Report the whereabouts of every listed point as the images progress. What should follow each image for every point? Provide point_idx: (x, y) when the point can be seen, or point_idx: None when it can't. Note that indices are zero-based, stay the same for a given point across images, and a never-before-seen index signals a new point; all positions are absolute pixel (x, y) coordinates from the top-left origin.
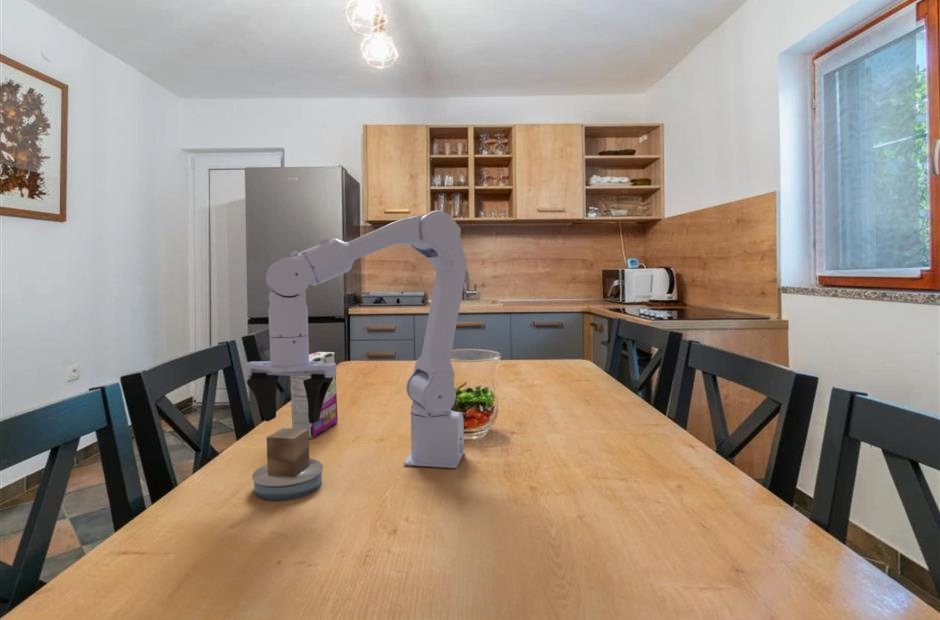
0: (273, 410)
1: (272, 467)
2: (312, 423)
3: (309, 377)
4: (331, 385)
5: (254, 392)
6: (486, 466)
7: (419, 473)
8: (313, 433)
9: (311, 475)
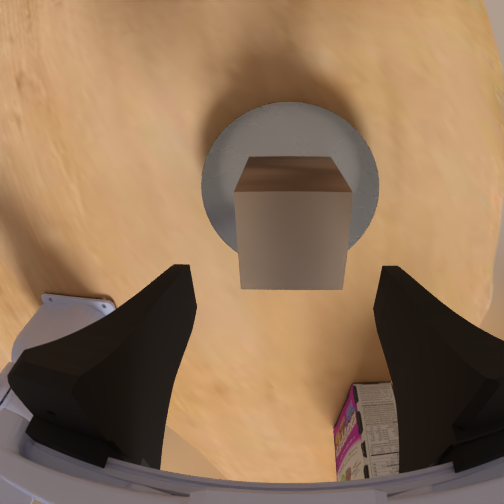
0: (383, 322)
1: (318, 161)
2: (356, 408)
3: None
4: None
5: (485, 336)
6: (22, 303)
7: (75, 274)
8: (352, 392)
9: (209, 172)
